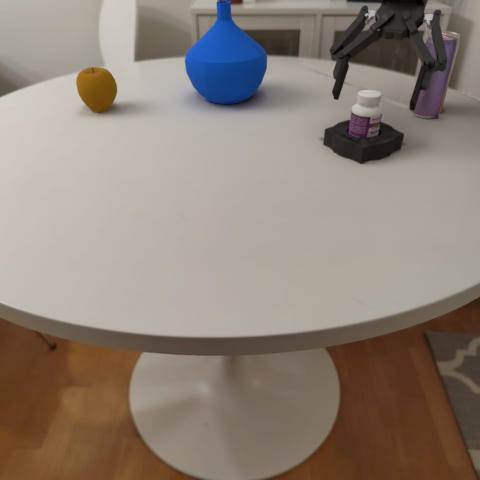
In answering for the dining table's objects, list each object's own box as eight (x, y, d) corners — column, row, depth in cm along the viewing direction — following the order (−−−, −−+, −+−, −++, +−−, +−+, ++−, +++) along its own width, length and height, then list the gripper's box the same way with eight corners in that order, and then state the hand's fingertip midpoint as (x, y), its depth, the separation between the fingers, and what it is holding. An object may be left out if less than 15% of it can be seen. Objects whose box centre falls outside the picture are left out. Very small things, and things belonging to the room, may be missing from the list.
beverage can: (427, 121, 93) (447, 39, 83) (404, 112, 96) (421, 33, 87) (446, 114, 95) (468, 34, 85) (423, 106, 99) (441, 29, 89)
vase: (186, 113, 100) (176, 12, 87) (190, 85, 113) (182, -5, 101) (269, 109, 100) (271, 9, 87) (263, 83, 114) (264, -8, 101)
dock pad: (406, 149, 83) (410, 133, 81) (360, 166, 79) (363, 150, 77) (362, 129, 90) (364, 114, 88) (317, 143, 86) (319, 128, 84)
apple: (129, 107, 103) (121, 65, 98) (101, 119, 98) (91, 76, 92) (102, 100, 107) (93, 60, 101) (74, 112, 102) (63, 70, 96)
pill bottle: (370, 155, 82) (379, 100, 75) (342, 149, 84) (349, 95, 78) (380, 144, 85) (389, 90, 79) (352, 138, 87) (360, 86, 81)
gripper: (483, 4, 79) (445, 121, 79) (343, -3, 88) (309, 102, 88) (490, -29, 72) (448, 99, 72) (337, -33, 81) (301, 81, 81)
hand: (372, 101), depth 80 cm, fingers open, 13 cm apart
